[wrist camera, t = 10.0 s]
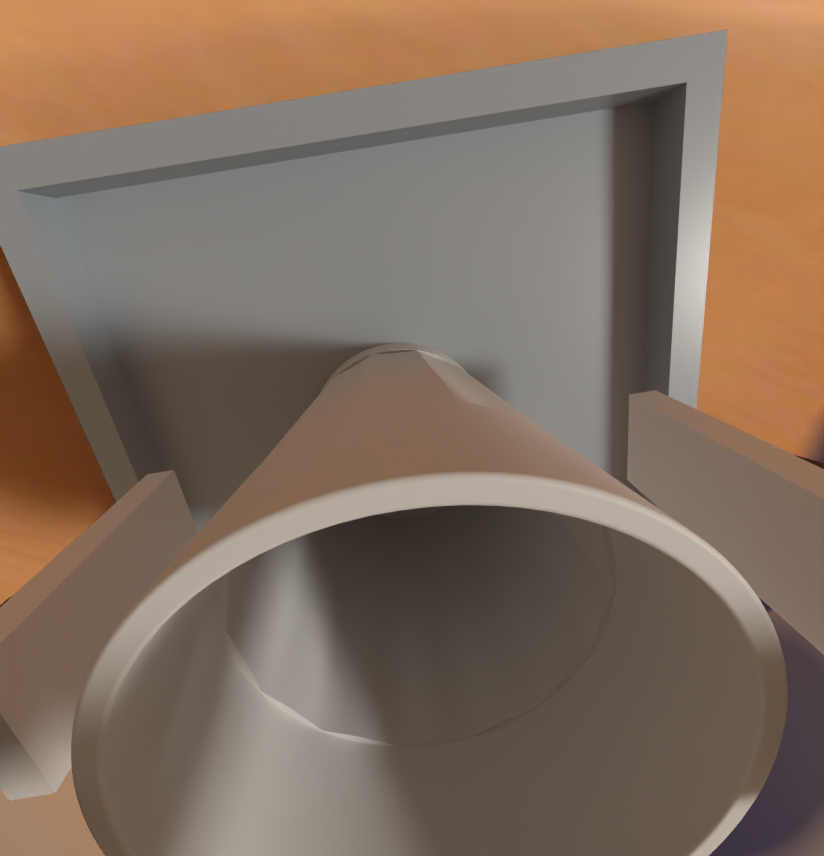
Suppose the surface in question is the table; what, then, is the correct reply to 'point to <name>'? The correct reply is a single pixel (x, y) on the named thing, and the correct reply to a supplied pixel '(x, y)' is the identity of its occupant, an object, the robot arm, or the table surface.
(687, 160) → the tray
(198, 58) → the table surface
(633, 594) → the cup
